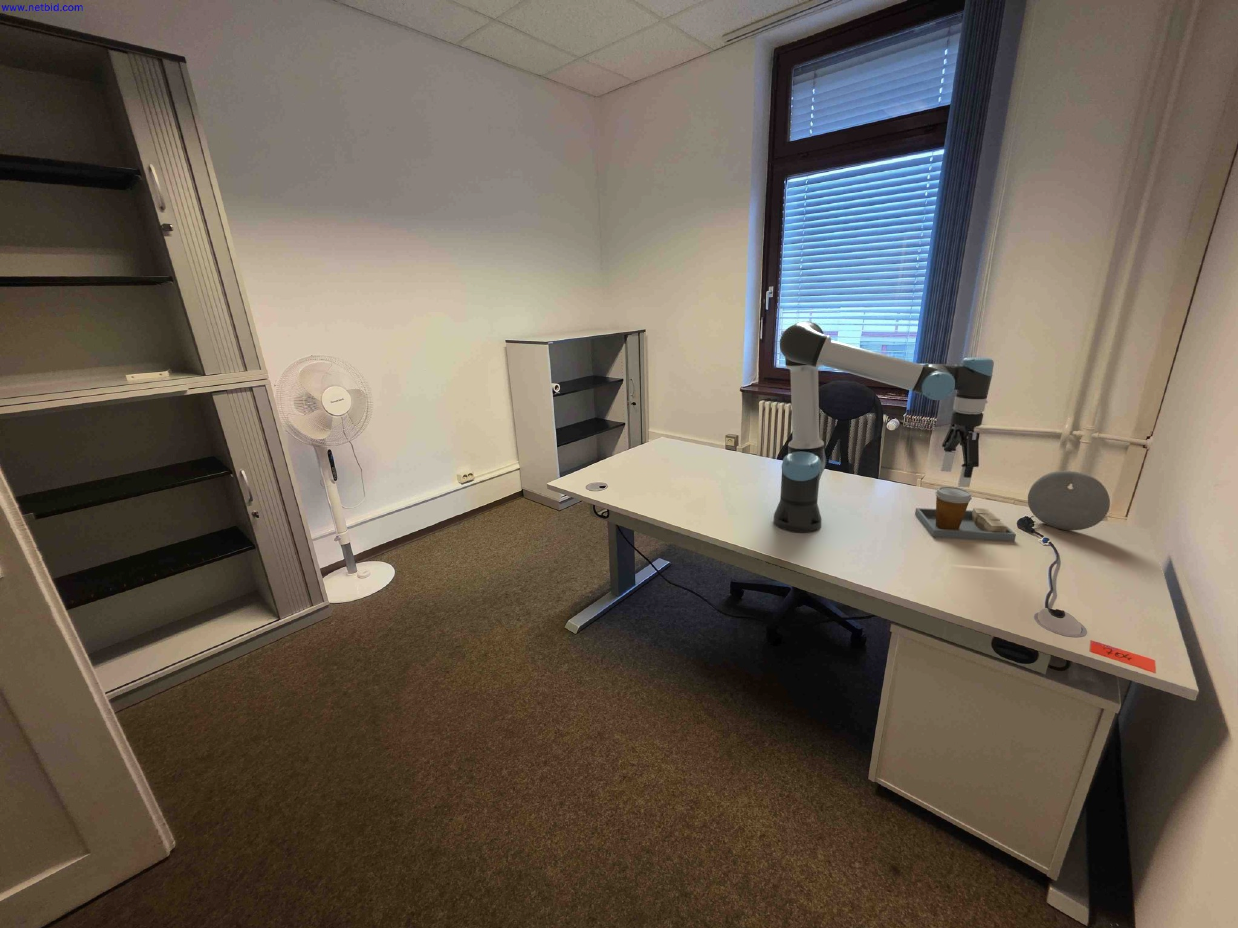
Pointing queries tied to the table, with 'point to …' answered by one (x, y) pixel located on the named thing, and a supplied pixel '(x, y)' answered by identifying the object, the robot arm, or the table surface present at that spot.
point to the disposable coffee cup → (951, 507)
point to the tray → (960, 528)
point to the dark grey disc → (1068, 500)
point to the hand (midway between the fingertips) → (954, 478)
